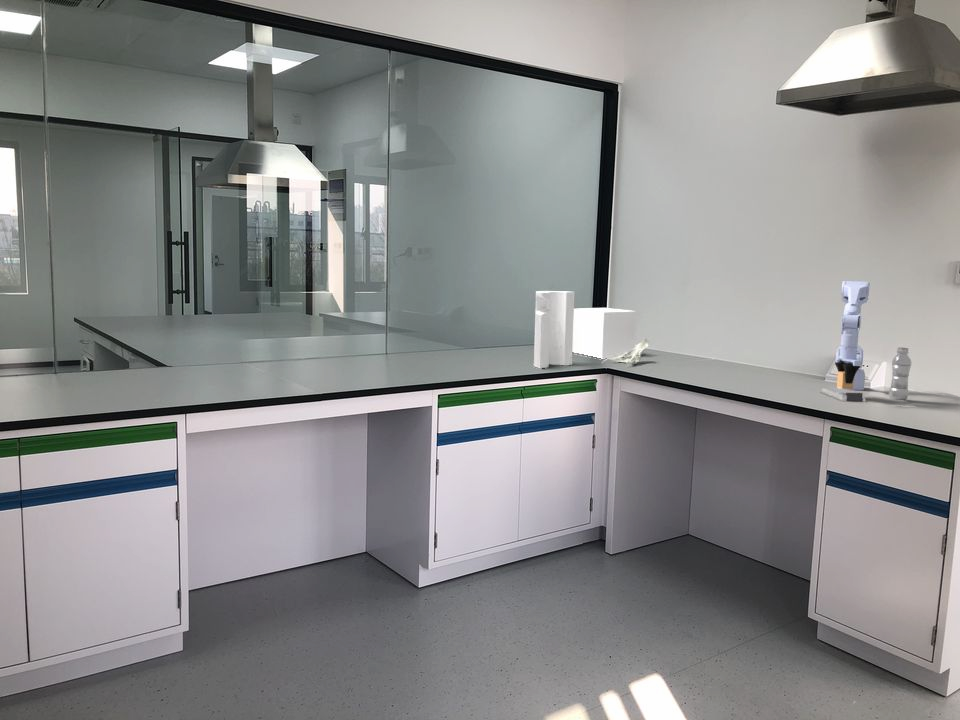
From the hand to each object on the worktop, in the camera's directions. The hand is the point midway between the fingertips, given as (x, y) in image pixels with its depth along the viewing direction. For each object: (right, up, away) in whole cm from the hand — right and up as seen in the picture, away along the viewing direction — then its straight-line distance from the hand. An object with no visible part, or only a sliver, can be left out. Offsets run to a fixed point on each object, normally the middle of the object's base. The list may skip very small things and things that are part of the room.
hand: (845, 382), depth 289 cm
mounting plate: (0, -6, +2) cm, 7 cm away
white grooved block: (-106, +5, +73) cm, 129 cm away
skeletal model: (-65, +6, +85) cm, 107 cm away
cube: (-74, +10, +114) cm, 136 cm away
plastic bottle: (+20, -7, +1) cm, 22 cm away
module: (0, -2, 0) cm, 2 cm away
